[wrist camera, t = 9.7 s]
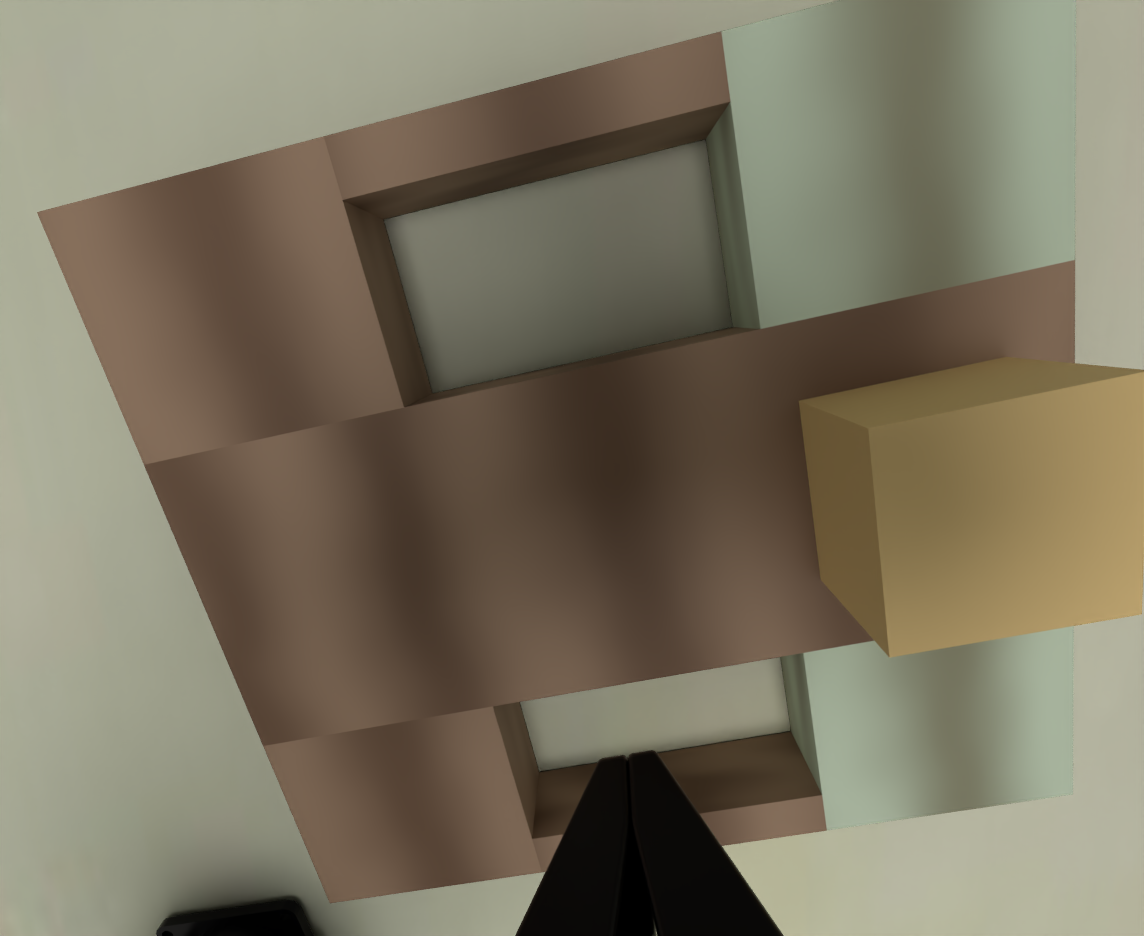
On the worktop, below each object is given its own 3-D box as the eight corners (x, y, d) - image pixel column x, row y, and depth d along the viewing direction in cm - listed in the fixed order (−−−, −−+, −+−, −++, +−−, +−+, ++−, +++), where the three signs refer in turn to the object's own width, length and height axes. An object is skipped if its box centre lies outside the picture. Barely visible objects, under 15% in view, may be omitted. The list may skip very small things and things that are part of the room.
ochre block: (820, 580, 17) (889, 657, 13) (798, 400, 16) (868, 428, 12) (1011, 544, 16) (1141, 614, 13) (1006, 356, 15) (1149, 370, 11)
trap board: (361, 831, 24) (329, 903, 21) (126, 229, 18) (37, 212, 15) (1007, 729, 22) (1072, 794, 19) (985, 8, 16) (1076, -63, 13)
